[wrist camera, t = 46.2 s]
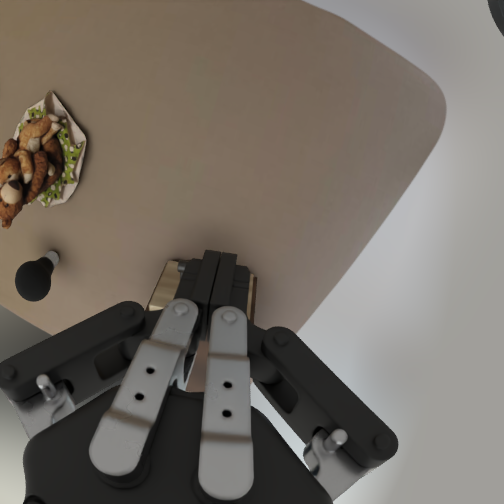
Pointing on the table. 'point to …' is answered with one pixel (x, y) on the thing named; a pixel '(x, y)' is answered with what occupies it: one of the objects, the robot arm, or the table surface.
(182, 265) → the drawer
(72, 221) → the table surface
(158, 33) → the table surface
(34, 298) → the light bulb
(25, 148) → the bear figurine
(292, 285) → the table surface
